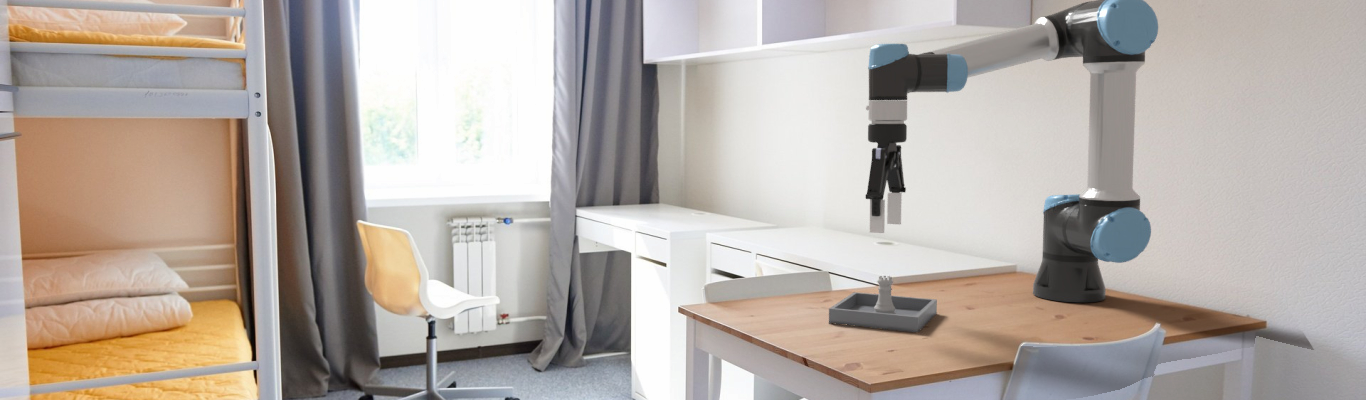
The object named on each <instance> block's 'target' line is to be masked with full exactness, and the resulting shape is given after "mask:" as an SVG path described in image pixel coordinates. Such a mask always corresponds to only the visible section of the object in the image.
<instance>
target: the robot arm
mask: <svg viewBox="0 0 1366 400" xmlns="http://www.w3.org/2000/svg"><path fill="white" fill-rule="evenodd" d="M1158 33H1159V20H1158V17H1157V15H1156V11H1154V9H1153V7H1152V6H1150V4H1148V3H1147V2H1146V1H1145V0H1091V1H1085V2H1081V3H1079V4H1076V5H1073V6H1071V7H1069V8H1066V9H1063V10H1061V11H1058V12H1055V13H1052V14H1049V15H1046V16H1041V17H1039V18H1037V19H1036V20H1035V21H1034V23H1033V24H1031V25H1026V26H1021V27H1018V28H1015V29H1011V30H1008V31H1002V32H1000V33H999V32H998V33H996V34H995V33H994V34H990V35H988V36H983V37H980V38H975V39H972V40H968V41H965V42H960V43H957V44H953V45H949V46H946V47H942V48H938V49H933V50H930V51H927V52H923V53H919V54H915V53H910V51H909V47H908V45H907V44H905V43H880V44H879V43H878V44H874V45H872V47H870V50H869V55H868V57H869V58H868V66H867V69H868V105H866V107H865V109H866V111H868V120H869V121H870V122H871V123H869V124H868V125H867V140H868V142H870V143H876V144H877V147H873V148H871V162H870V167H869V169H870V170H869V175H868V177H869V178H868V181H867V182H868V184H867V191H866V194H865V200H869V233H872V234H873V233H876V234H885V208H886V207H887V209H886V211H887V212H886V213H887V215H886V219H887V220H886V224H887V225H902V196H903V195H902V193H906V192H907V191H906V190H907V187H906V186H905V180H904V170H903V169H904V168H903V162H902V161H903V159H902V145H900V143H905V142H907V135H908V134H907V132H908V131H907V130H908V129H907V128H908V125H907V124H906V123H905V122H906V121H907V120H908V94H911V93H947V94H948V93H952V92H953V93H954V92H960V91H963V89H964V88H965V86H966V85H967V81H968V79H969V78H971V77H972V78H973V77H976V76H979V75H983V74H988V73H991V72H994V71H999V70H1003V69H1006V68H1010V67H1014V66H1018V65H1021V64H1026V63H1029V62H1033V61H1036V60H1040V59H1042V60H1044V61H1045V62H1052V61H1055V60H1059V59H1065V58H1066V59H1067V58H1080V57H1081V58H1082V66H1083V67H1084V68H1085V69H1086V70H1087V71H1088V72H1089V74H1090V79H1089V80H1090V82H1089V84H1090V85H1089V114H1088V115H1089V117H1088V154H1087V182H1086V183H1087V186H1086V189H1085V190H1084V191H1083V192H1082V193H1080V194H1077V193H1075V194H1057V195H1056V194H1053V195H1049V196H1047V197H1046V199H1045V201H1044V206H1043V211H1042V214H1043V225H1042V227H1043V229H1042V230H1043V232H1042V238H1043V239H1042V258H1041V259H1042V260H1041V263H1040V265H1039V268H1038V271H1037V273H1036V276H1035V277H1034V278H1035V279H1034V281H1033V284H1032V294H1033V295H1034V296H1036V297H1038V298H1041V299H1045V300H1050V301H1056V302H1064V303H1097V302H1101V301H1104V300H1105V299H1106V290H1107V289H1106V286H1105V282H1104V280H1103V276H1102V272H1101V270H1100V269H1101V268H1100V265H1099V261H1102V262H1104V263H1109V262H1111V263H1115V264H1118V263H1119V264H1121V263H1127V262H1131V261H1132V260H1134V259H1136V258H1137V257H1139V255H1140V254H1141V253H1143V252H1144V251H1145V249H1146V248H1147V247H1148V244H1149V242H1150V239H1151V235H1152V226H1151V222H1150V220H1149V218H1148V217H1147V216H1146V214H1145V213H1144V212H1143V211H1141V196H1140V195H1139V194H1138V192H1136V191H1135V190H1134V189H1133V186H1134V184H1133V181H1134V156H1135V155H1134V154H1135V151H1134V150H1135V147H1134V146H1135V122H1136V120H1135V119H1136V118H1135V117H1136V94H1137V93H1136V92H1137V88H1136V86H1137V72H1138V70H1139V69H1140V68H1142V67H1143V66H1144V65H1145V63H1146V51H1147V50H1149V48H1151V47H1152V45H1153V44H1154V43H1155V41H1156V39H1157V38H1158V37H1157V36H1158ZM898 143H899V144H898ZM886 186H887V187H888V192H887V206H886V203H885V202H886V200H885V199H884V195H885V190H886ZM885 206H886V207H885Z"/></svg>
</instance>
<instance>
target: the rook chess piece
mask: <svg viewBox="0 0 1366 400" xmlns="http://www.w3.org/2000/svg"><path fill="white" fill-rule="evenodd" d="M876 282H877V284H878V288H877V290H878V294H879V296H878V301H877V303H876V305H875V306H874V310H875V312H878V313H888V314H896V313H895V312H894V311H895V307H894V306H893V303H892V298H891V296H892V290H893V288H892V284H893V283H894V281H893V279H892V276H890V275H887V276H886V275H883V276H882V275H879V276H878V279H877V281H876Z"/></svg>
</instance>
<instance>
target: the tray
mask: <svg viewBox="0 0 1366 400" xmlns="http://www.w3.org/2000/svg"><path fill="white" fill-rule="evenodd" d="M878 296H879V293H878V294H877V293H868V292H855V291H854V292H852V293H850V294H849V295H847V296H845V298H843V299H841V300H840V301H838V302H837V303H835V304H833V305H832V306H831V307H829V308H828V324H830V323H836V324H835V325H839V324H847V325H846V326H849V325H855V326H854V327H858V326H864V327H863V328H868V327H872V328H871V329H877V328H882V329H881V330H887V329H890V331H896V330H898V331H899V332H906V331H907V333H915V332H918V333H919V332H920V331H921V330H922V329H923V328H924V327H925V326H926V325H927V324H928V323H929V322H930V321H931V320H932V319H933V318H934V317H935V316H936V315H937V313H938V312H937V309H938V299H934V298H933V299H932V298H924V297H914V296H913V297H912V296H900V295H891V298H892V303H893V306H894V307H895V311H894V312H895V313H896V314H888V313H878V312H875V310H874V306H875V305H876V303H877V301H878ZM924 325H925V326H924ZM920 329H921V330H920Z"/></svg>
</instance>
